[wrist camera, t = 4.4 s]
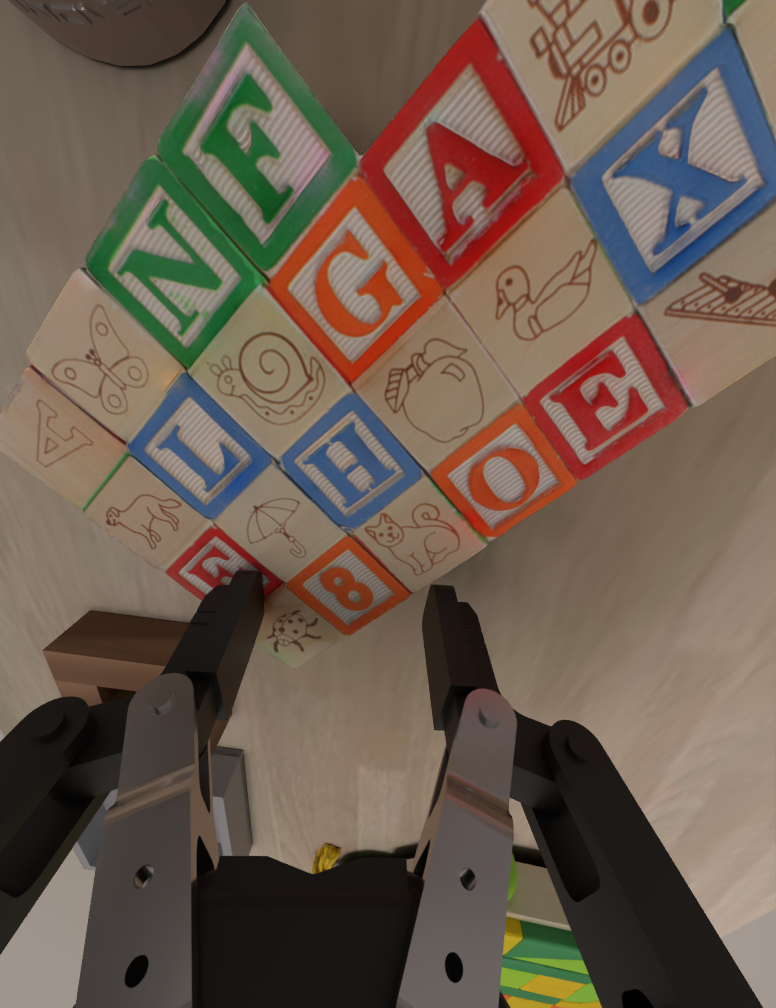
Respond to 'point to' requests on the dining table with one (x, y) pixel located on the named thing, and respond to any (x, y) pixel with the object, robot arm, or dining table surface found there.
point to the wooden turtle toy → (529, 942)
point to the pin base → (115, 657)
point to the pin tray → (226, 809)
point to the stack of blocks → (410, 302)
